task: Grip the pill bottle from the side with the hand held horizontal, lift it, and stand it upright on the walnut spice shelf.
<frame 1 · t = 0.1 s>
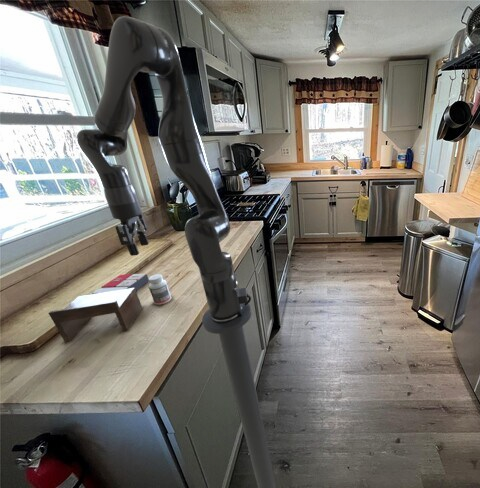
hand: (140, 249, 85), 20 cm above the counter, tool pointing down, fingers open, 8 cm apart
pill bottle: (163, 301, 92), on the counter
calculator: (123, 291, 99), on the counter
spice shelf: (106, 323, 82), on the counter
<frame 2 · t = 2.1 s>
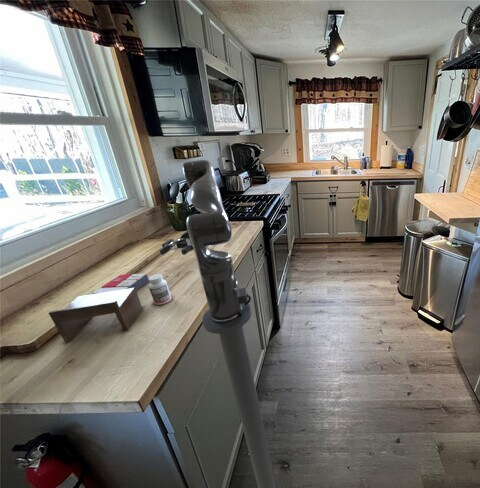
hand: (171, 252, 97), 14 cm above the counter, tool horizontal, fingers open, 8 cm apart
nothing on the counter moved.
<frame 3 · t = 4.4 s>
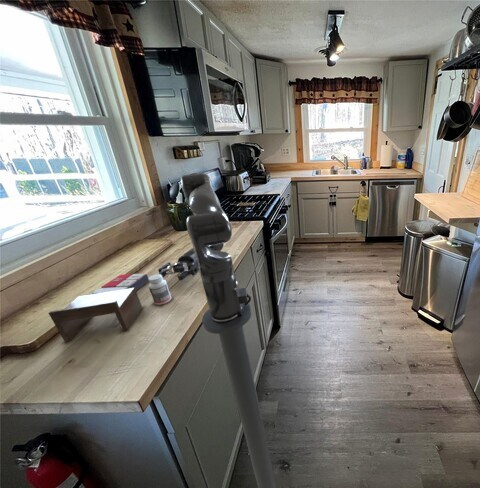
hand: (168, 278, 94), 6 cm above the counter, tool horizontal, fingers open, 8 cm apart
nothing on the counter moved.
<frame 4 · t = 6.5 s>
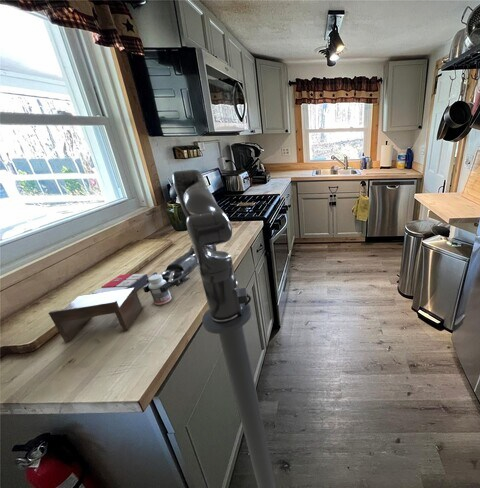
hand: (153, 290, 87), 6 cm above the counter, tool horizontal, fingers closed on pill bottle, 5 cm apart
pill bottle: (163, 301, 92), on the counter, touching gripper
everything else where it was.
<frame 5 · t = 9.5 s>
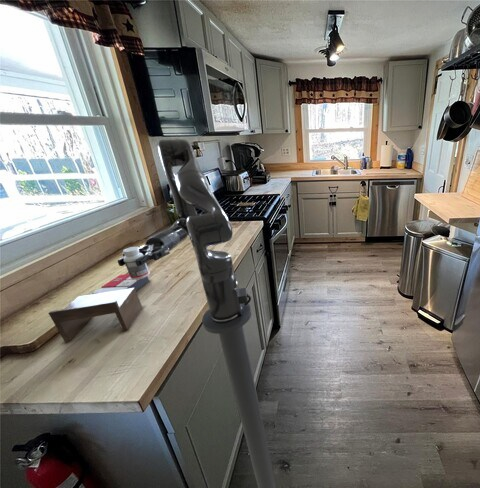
hand: (128, 263, 81), 18 cm above the counter, tool horizontal, fingers closed on pill bottle, 5 cm apart
pill bottle: (140, 276, 85), point 11 cm above the counter, touching gripper
everything else where it was.
when the fingers open (14 cm above the counter, at t = 12.6 s): pill bottle stays where it is, resting on spice shelf.
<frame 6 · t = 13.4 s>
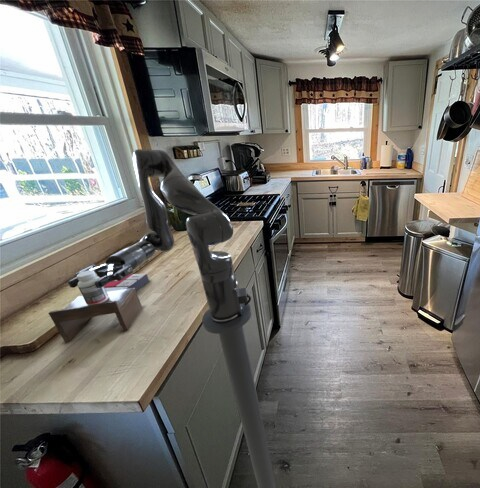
hand: (83, 285, 75), 15 cm above the counter, tool horizontal, fingers open, 8 cm apart
pill bottle: (98, 301, 79), point 8 cm above the counter, touching spice shelf
everything else where it was.
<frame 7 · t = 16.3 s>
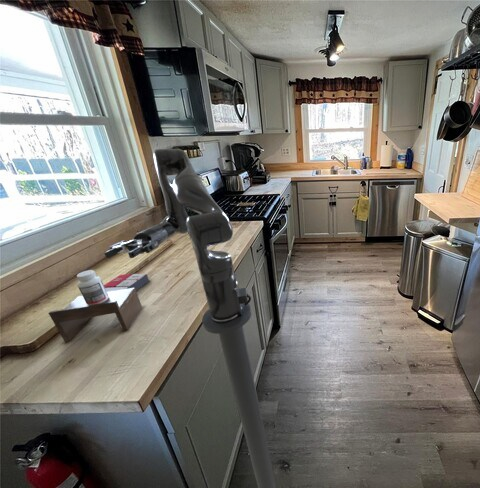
hand: (118, 255, 86), 18 cm above the counter, tool horizontal, fingers open, 8 cm apart
nothing on the counter moved.
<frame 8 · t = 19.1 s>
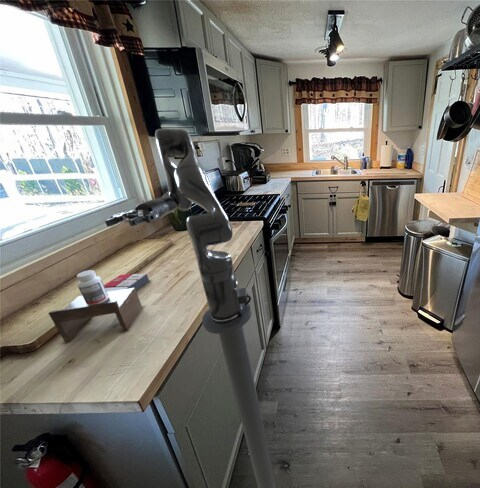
hand: (118, 223, 85), 28 cm above the counter, tool horizontal, fingers open, 8 cm apart
nothing on the counter moved.
at the end: pill bottle inside the target area (0.4 cm from its centre), point 7.8 cm above the counter; pill bottle tilted 0°; the gripper is holding nothing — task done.
